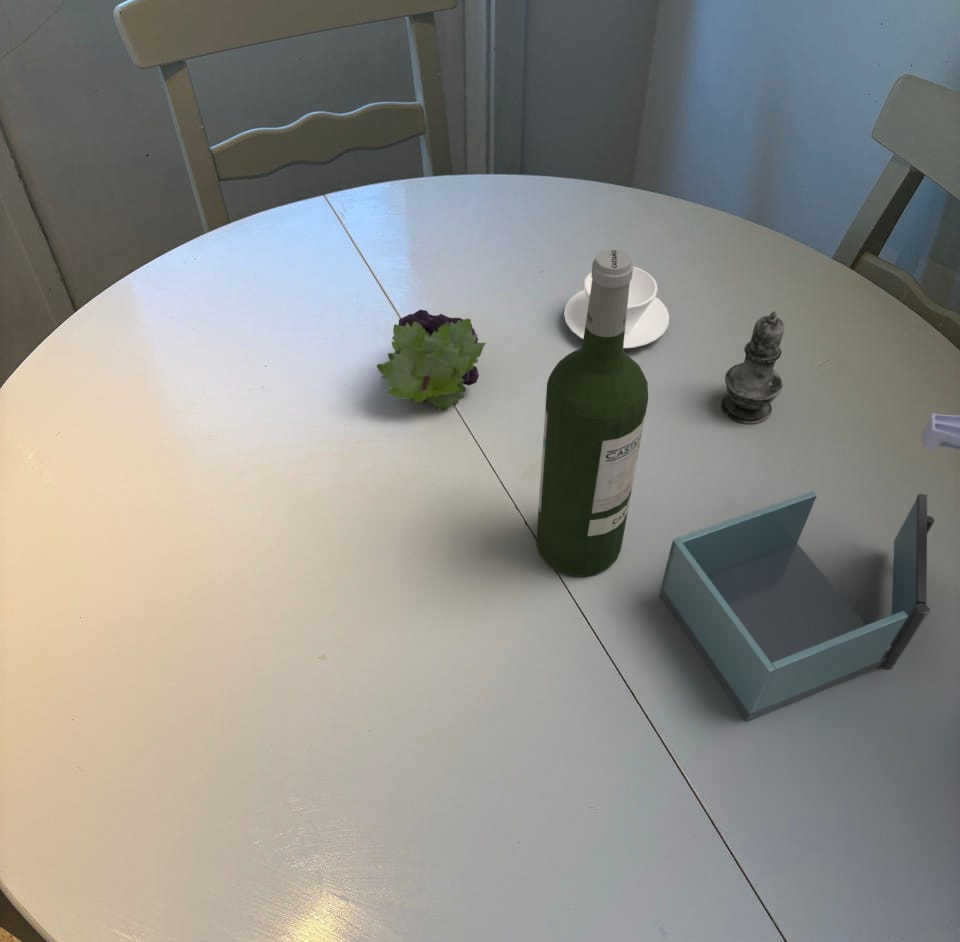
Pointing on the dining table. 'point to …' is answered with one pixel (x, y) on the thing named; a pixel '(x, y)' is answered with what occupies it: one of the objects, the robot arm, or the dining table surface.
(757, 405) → the grey chess piece
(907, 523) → the blue flat panel
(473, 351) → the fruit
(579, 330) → the teacup
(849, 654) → the light blue open box
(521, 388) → the dining table surface
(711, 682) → the dining table surface
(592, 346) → the wine bottle
